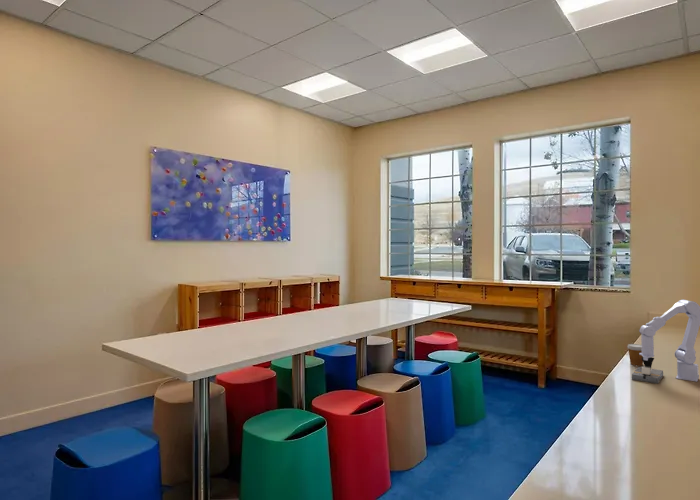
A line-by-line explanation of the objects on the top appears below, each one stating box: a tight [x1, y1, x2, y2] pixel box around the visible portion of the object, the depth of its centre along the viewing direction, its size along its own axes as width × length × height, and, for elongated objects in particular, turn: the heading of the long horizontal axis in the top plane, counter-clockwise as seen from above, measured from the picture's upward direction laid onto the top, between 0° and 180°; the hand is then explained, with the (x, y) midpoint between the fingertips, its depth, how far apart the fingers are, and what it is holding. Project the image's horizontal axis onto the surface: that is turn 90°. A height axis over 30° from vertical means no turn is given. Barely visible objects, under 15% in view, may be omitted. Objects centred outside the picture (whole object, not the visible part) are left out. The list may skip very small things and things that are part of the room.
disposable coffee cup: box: [627, 343, 644, 367], centre depth 271 cm, size 10×10×12 cm
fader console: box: [631, 366, 664, 385], centre depth 244 cm, size 12×19×3 cm, turn 137°
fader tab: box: [641, 365, 651, 376], centre depth 241 cm, size 4×3×5 cm
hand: (648, 370), depth 245 cm, fingers closed
